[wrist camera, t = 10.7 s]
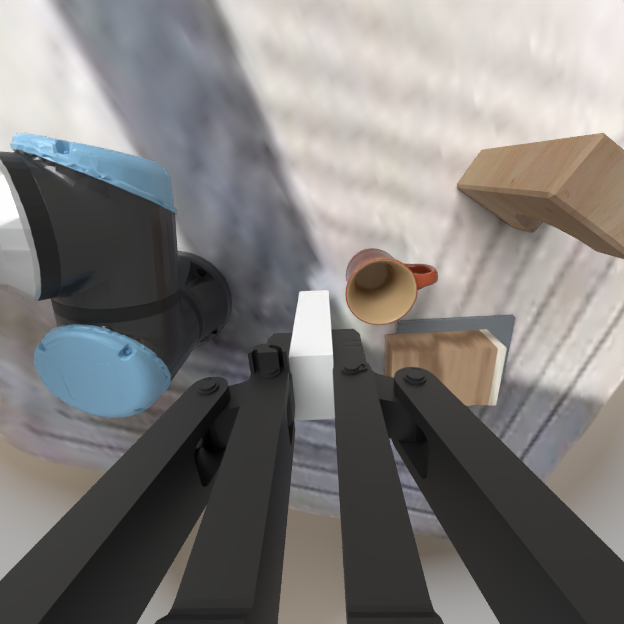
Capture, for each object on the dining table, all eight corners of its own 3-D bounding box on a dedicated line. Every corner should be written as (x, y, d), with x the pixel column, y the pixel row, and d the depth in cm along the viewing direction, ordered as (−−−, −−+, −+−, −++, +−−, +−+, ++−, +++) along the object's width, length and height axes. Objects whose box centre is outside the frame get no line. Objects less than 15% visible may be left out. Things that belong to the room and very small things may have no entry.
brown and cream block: (391, 409, 51) (496, 405, 51) (392, 353, 47) (506, 348, 47) (384, 385, 57) (478, 381, 56) (385, 334, 53) (486, 329, 52)
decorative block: (543, 194, 45) (698, 209, 26) (512, 229, 47) (637, 266, 28) (483, 146, 43) (606, 126, 24) (453, 185, 45) (547, 195, 26)
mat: (395, 382, 58) (396, 385, 57) (398, 320, 53) (399, 322, 52) (500, 377, 57) (502, 380, 56) (512, 314, 52) (515, 316, 51)
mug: (347, 302, 52) (353, 331, 42) (335, 249, 49) (339, 267, 39) (423, 285, 50) (447, 311, 41) (416, 229, 47) (440, 244, 38)
